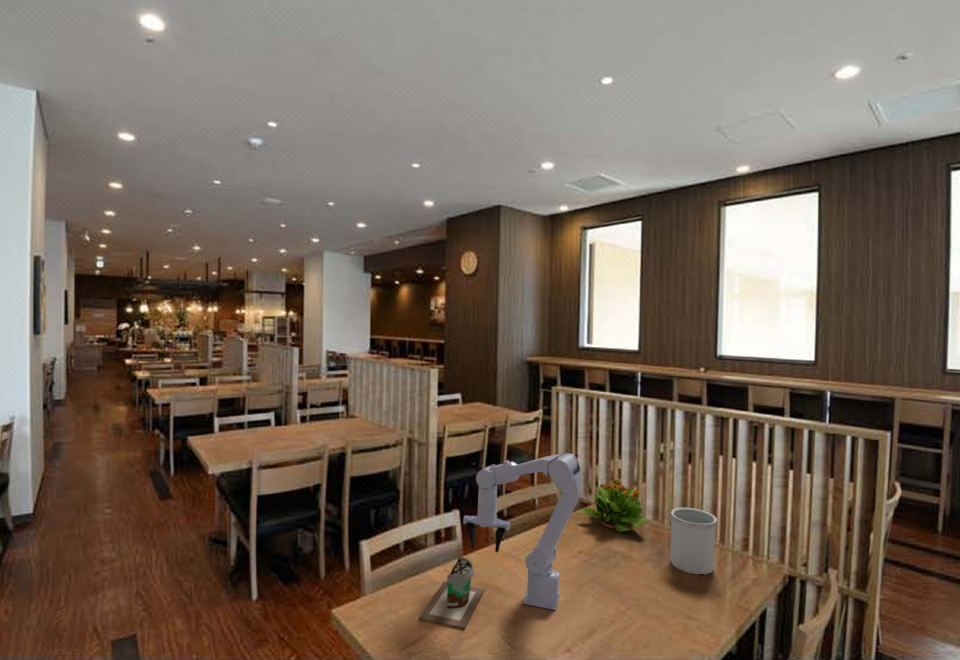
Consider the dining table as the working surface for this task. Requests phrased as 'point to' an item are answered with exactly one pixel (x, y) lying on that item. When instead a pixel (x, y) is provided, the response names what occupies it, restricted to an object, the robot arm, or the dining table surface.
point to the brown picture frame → (448, 616)
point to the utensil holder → (693, 540)
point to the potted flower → (617, 507)
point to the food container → (459, 583)
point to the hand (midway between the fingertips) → (485, 549)
